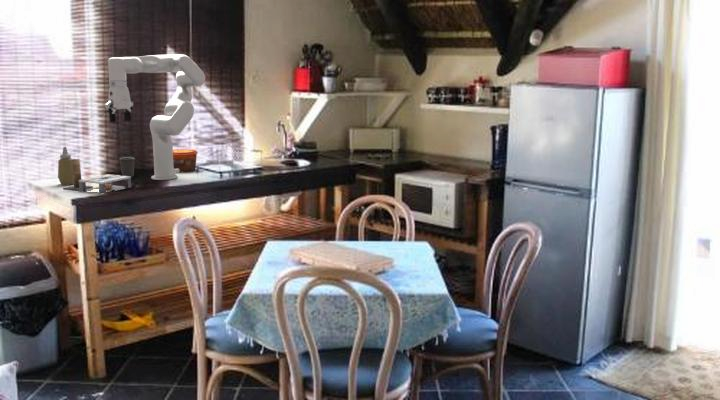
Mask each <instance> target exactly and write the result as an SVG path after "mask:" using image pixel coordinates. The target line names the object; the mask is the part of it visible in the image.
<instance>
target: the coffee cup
mask: <svg viewBox="0 0 720 400" xmlns="http://www.w3.org/2000/svg"><path fill="white" fill-rule="evenodd" d="M135 160H136V158H135V157H133V156H122V157H120V158H119V159H118V161H119V164H120V169H121V174H122V175H121V176H131V178H132V177H134V175H135V174H134V173H135Z"/></svg>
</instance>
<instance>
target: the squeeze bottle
mask: <svg viewBox="0 0 720 400" xmlns="http://www.w3.org/2000/svg"><path fill="white" fill-rule="evenodd" d="M59 157H60V159H58V164H57V165H58V166H57V178H58V180H59V182H60V185H63V186H73V185H74V180H73V168H72V159H73V158H71V157H72V155H71V154H70V153H69V152H68V149H67V146H63V148H62V154H61V153H60V155H59Z"/></svg>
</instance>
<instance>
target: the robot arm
mask: <svg viewBox="0 0 720 400" xmlns="http://www.w3.org/2000/svg"><path fill="white" fill-rule="evenodd" d="M107 64H108V65H107V66H108V76H109V77H108V79H109V83H108V85H109V87H108V102H106V103H105V104H104V107H105V109H106V110H105V111H107V114H108V115H109V123H117V119H116V118H117V117H116V111H117V110H124V113H123V115H124V121H125V122H131V121H132V118H131V117H132V116H131V113H132V110H133V106H134V102H133V101H131V95H130V90H129V87H127V86H128V85H127V74H138V73H146V74H157V73H158V74H159V73H172V72H173V73H174V72H175V73H176V72H177V73H176V75H175V82H176V92H175V93H174V95H173V96H172V97H171V98H170V99H169V101H168V102H167V103H166V105H165V107H164V109H163V113H164V115H161V114H160V115H158V114H157V115H155V116H153V117H152V118H151V120H150V122H149V129H150V133H151V139H152V151H153V153H152V154H153V171H154V173H153V174H154V175H151V177H150V178H151V179H152V180H154V181H168V180H175V179H178V175H177V174H176V173H180V172H179V169H175V168H174V164H173V150H174V148H173V146H174V144H173V140H172V139H173V138H172V137H171V136H173V137H175V136H178V135H180V134H181V133H182V132H183V130H184V129H185V128H186V127H187V125H188V124H189V123H190V122H191V121H192V119H193V117H194V114H195V108H194V107H195V106H194V105H193V103H191V102H192V99H193V92H192V88H191V87H201V86H203V85H204V84H205V82H206V76H205V73H204V71H203V70H202V69H201V68H200V67H199V65H198V64H196V62H195V61H194V60H193V59H191V57H189V56H188V55H186V54H155V55H154V54H153V55H151V54H150V55H149V54H148V55H142V56H122V57H121V56H120V57H110V58H108V60H107Z"/></svg>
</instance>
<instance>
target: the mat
mask: <svg viewBox="0 0 720 400" xmlns="http://www.w3.org/2000/svg"><path fill="white" fill-rule="evenodd" d="M91 188H94V186H93V185H86V190H87V189H91ZM62 189H63V190H66V191H67V190H68V191H77V192H80V191H79V188H74V185H70V186H67V187H63V188H62Z"/></svg>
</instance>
